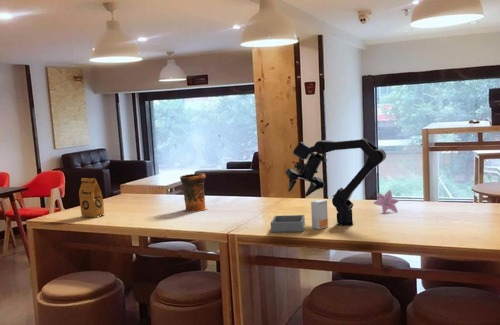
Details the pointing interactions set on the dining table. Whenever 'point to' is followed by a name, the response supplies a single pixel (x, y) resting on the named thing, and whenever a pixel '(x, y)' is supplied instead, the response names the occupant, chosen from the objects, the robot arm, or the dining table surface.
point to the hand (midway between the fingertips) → (297, 193)
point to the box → (287, 223)
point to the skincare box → (319, 214)
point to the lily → (386, 202)
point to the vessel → (194, 192)
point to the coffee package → (91, 198)
